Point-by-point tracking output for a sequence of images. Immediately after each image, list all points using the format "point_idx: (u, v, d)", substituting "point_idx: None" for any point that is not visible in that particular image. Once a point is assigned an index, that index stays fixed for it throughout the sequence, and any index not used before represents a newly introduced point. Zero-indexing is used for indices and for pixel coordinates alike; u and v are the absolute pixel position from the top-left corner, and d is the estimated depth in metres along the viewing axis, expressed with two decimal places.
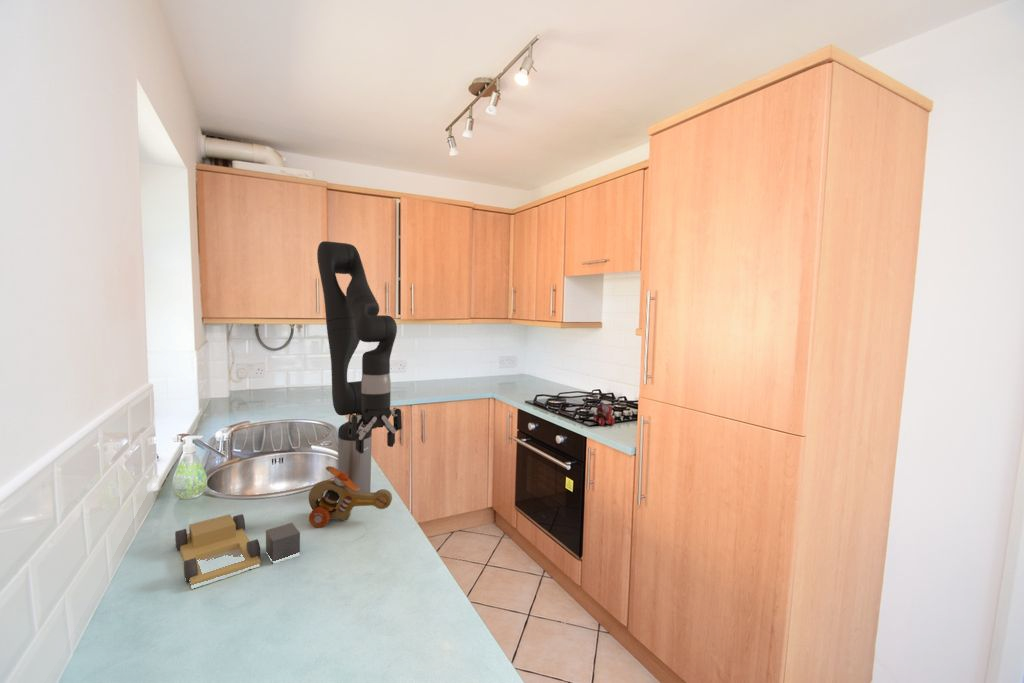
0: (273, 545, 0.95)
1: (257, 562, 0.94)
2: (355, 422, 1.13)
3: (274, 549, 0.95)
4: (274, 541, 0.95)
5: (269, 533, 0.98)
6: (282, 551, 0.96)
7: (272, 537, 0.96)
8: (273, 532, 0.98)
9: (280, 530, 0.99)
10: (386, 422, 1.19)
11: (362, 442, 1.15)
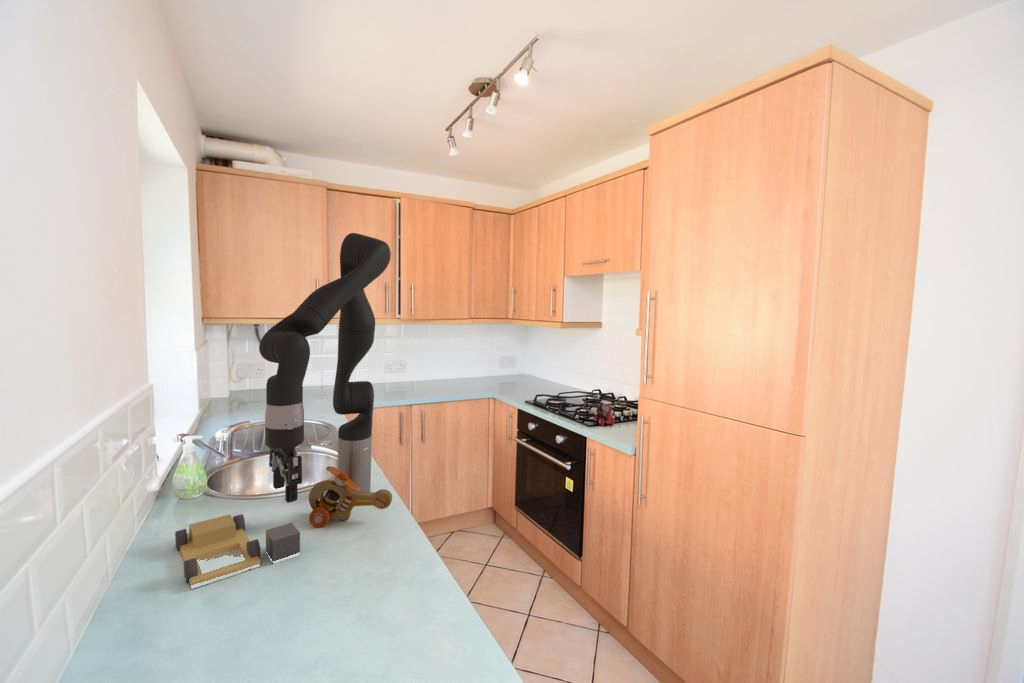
0: (273, 545, 0.95)
1: (257, 562, 0.94)
2: None
3: (274, 549, 0.95)
4: (274, 541, 0.95)
5: (269, 533, 0.98)
6: (282, 551, 0.96)
7: (272, 537, 0.96)
8: (273, 532, 0.98)
9: (280, 530, 0.99)
10: None
11: None
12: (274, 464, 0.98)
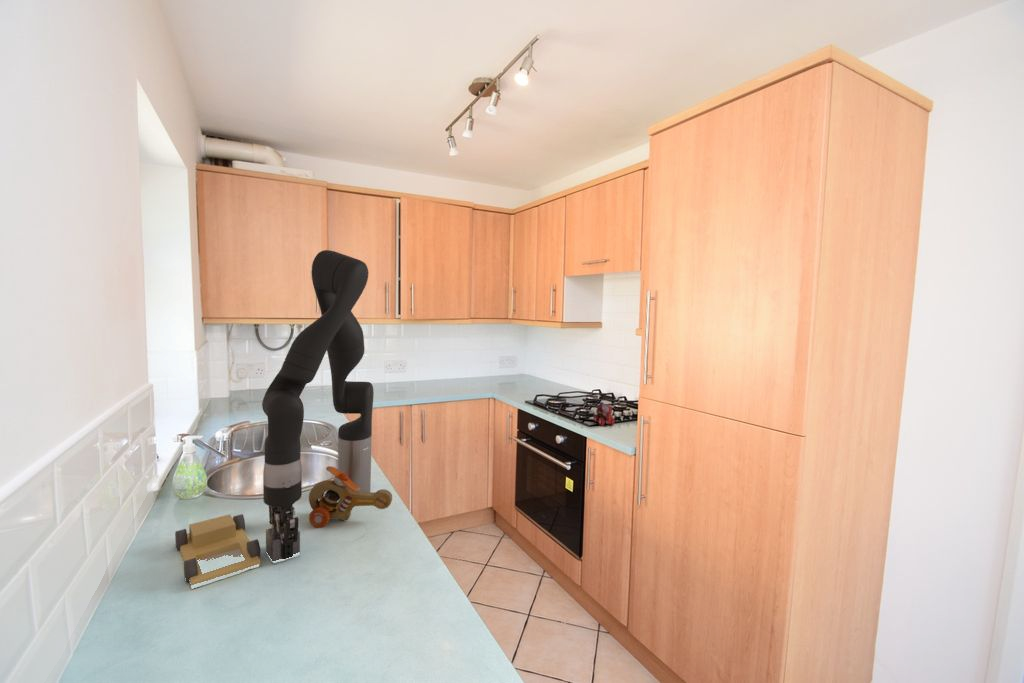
0: (273, 545, 0.95)
1: (257, 562, 0.94)
2: None
3: (274, 549, 0.95)
4: (274, 541, 0.95)
5: (269, 533, 0.98)
6: None
7: (272, 537, 0.96)
8: (273, 532, 0.98)
9: None
10: None
11: None
12: (273, 521, 0.99)
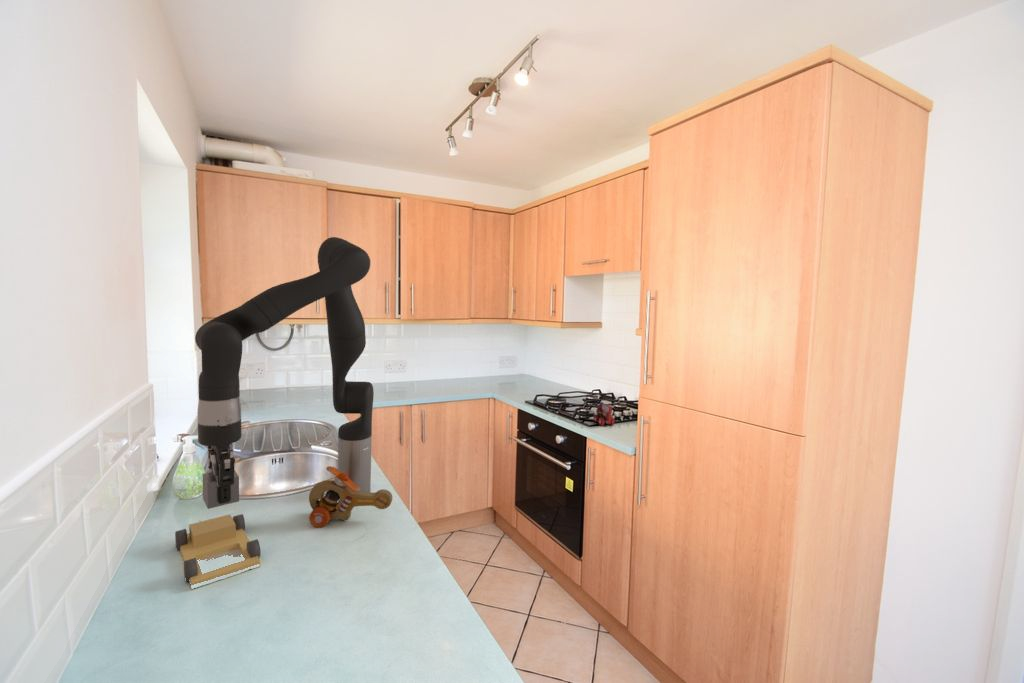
0: (208, 487, 0.89)
1: (257, 562, 0.94)
2: (233, 464, 0.89)
3: (209, 492, 0.89)
4: (209, 483, 0.89)
5: (205, 476, 0.91)
6: None
7: (207, 479, 0.90)
8: (210, 475, 0.92)
9: None
10: None
11: None
12: (210, 464, 0.93)
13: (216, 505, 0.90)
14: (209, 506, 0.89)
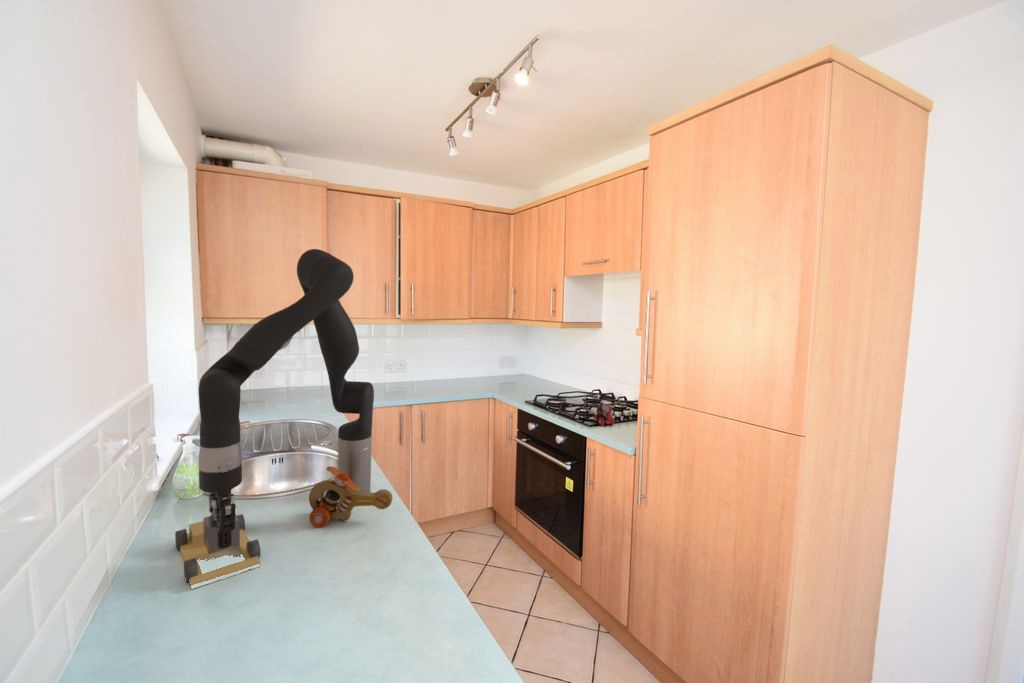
0: (209, 533, 0.90)
1: (257, 562, 0.94)
2: None
3: (210, 537, 0.90)
4: (210, 529, 0.90)
5: (206, 521, 0.92)
6: None
7: (208, 524, 0.91)
8: (211, 520, 0.93)
9: None
10: None
11: (230, 531, 0.92)
12: (211, 508, 0.93)
13: (217, 550, 0.91)
14: (210, 551, 0.90)
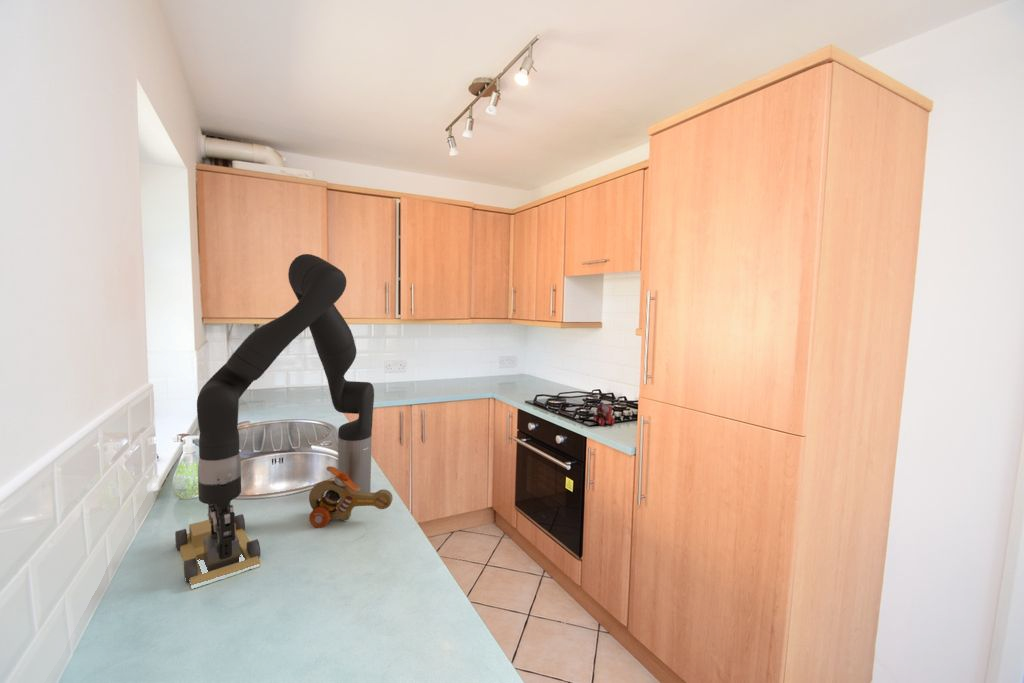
0: (208, 553, 0.90)
1: (257, 562, 0.94)
2: (233, 519, 0.90)
3: (209, 557, 0.91)
4: (209, 549, 0.90)
5: (206, 540, 0.93)
6: (218, 559, 0.92)
7: (208, 544, 0.92)
8: (211, 539, 0.93)
9: None
10: None
11: (231, 541, 0.92)
12: (210, 517, 0.94)
13: None
14: (209, 571, 0.91)
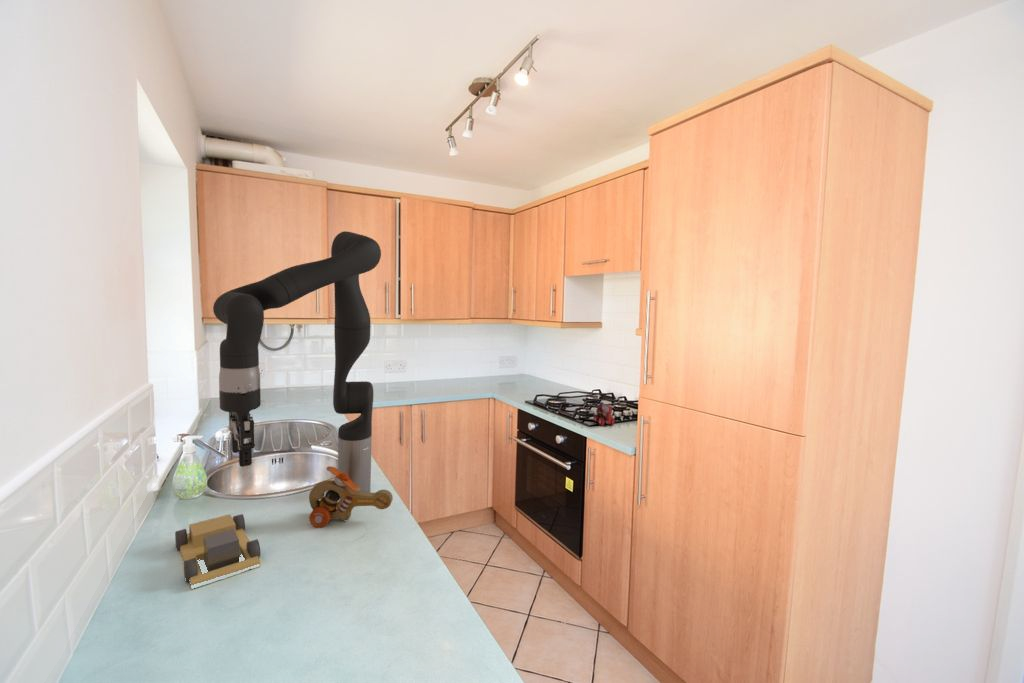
0: (208, 553, 0.90)
1: (257, 562, 0.94)
2: None
3: (209, 557, 0.91)
4: (209, 549, 0.90)
5: (206, 540, 0.93)
6: (218, 559, 0.92)
7: (208, 544, 0.92)
8: (211, 539, 0.93)
9: (219, 537, 0.94)
10: None
11: None
12: (231, 428, 0.97)
13: None
14: (209, 571, 0.91)
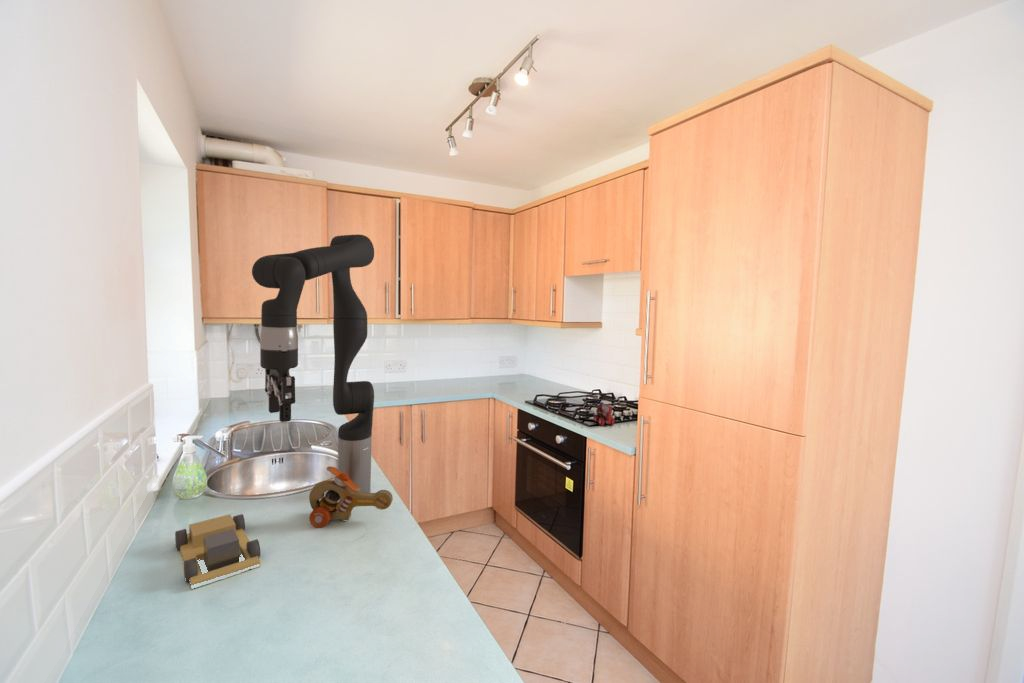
0: (208, 553, 0.90)
1: (257, 562, 0.94)
2: None
3: (209, 557, 0.91)
4: (209, 549, 0.90)
5: (206, 540, 0.93)
6: (218, 559, 0.92)
7: (208, 544, 0.92)
8: (211, 539, 0.93)
9: (219, 537, 0.94)
10: None
11: None
12: (269, 387, 1.01)
13: None
14: (209, 571, 0.91)
